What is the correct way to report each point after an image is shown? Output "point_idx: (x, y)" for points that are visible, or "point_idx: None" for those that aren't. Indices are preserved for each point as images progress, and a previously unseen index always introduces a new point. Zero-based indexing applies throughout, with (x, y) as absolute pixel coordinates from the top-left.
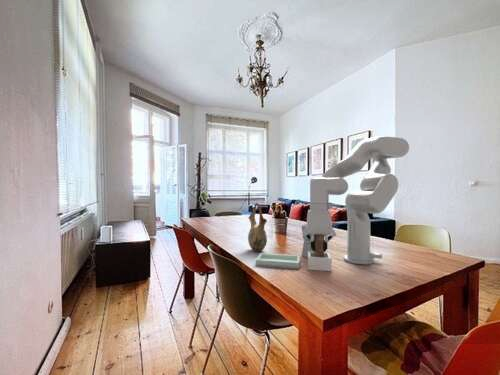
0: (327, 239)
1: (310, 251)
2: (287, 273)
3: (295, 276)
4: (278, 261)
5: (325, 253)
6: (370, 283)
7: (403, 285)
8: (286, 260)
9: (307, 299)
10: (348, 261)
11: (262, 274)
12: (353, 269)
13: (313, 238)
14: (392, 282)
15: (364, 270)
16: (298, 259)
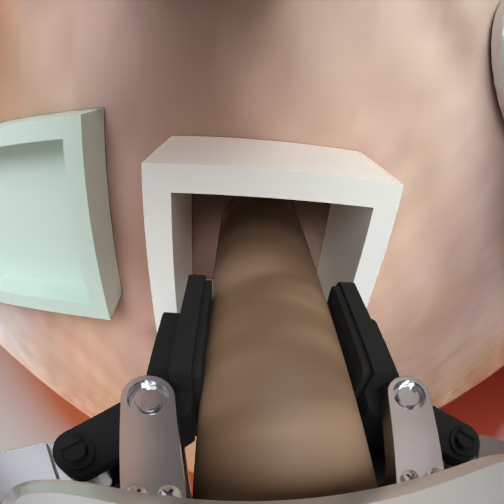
0: (383, 460)
1: (174, 164)
2: (85, 348)
3: (128, 374)
4: (2, 302)
5: (356, 202)
6: (422, 379)
7: (496, 361)
8: (15, 177)
9: (194, 462)
10: (501, 108)
11: (14, 355)
12: (464, 246)
13: (187, 474)
14: (490, 351)
15: (499, 253)
16: (86, 246)
